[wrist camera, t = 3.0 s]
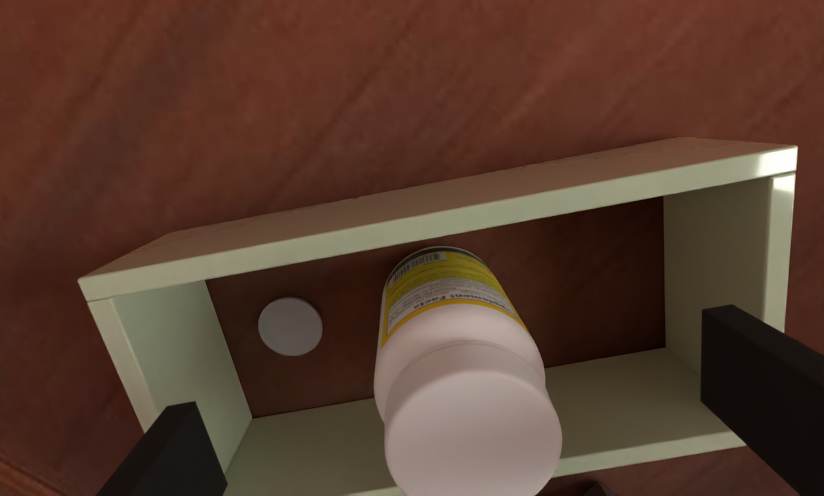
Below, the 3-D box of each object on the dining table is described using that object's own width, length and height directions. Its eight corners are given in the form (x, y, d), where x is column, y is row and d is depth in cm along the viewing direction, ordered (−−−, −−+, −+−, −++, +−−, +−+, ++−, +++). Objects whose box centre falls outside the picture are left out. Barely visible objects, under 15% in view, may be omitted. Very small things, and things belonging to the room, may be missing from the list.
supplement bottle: (473, 364, 18) (527, 555, 10) (367, 332, 18) (338, 508, 10) (517, 263, 17) (618, 393, 9) (404, 226, 17) (406, 328, 9)
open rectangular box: (680, 136, 16) (799, 144, 11) (681, 358, 19) (777, 441, 14) (169, 232, 17) (75, 279, 12) (242, 433, 19) (189, 538, 14)
